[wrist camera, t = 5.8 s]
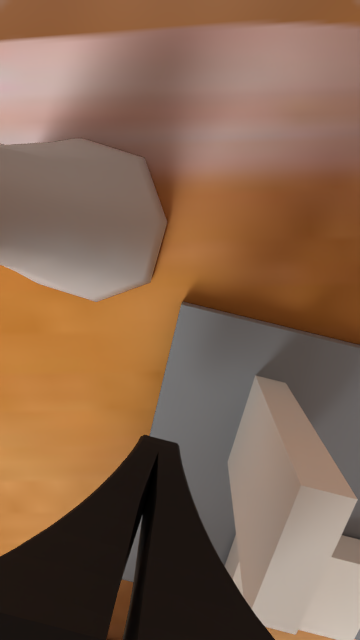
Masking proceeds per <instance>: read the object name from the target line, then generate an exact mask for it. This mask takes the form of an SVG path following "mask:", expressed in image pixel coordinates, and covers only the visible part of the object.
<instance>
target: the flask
mask: <svg viewBox="0 0 360 640" xmlns="http://www.w3.org/2000/svg"><path fill="white" fill-rule="evenodd" d="M166 225H167V220H166V217H165V214H164V211H163V208H162V206H161V203H160V200H159V197H158V194H157V192H156V189H155V186H154V183H153V180H152V177H151V175H150V172H149V169H148V166H147V163H146V160H145V158H144V157H141V156H137V155H134V154H131V153H128V152H125V151H121V150H118V149H115V148H112V147H109V146H106V145H102V144H99V143H96V142H93V141H90V140H87V139H83V138H74V139H67V140H61V141H55V142H48V143H30V144H13V145H4V144H0V265H3V266H5V267H7V268H9V269H12V270H14V271H16V272H18V273H20V274H21V275H23V276H25V277H27V278H29V279H30V280H32V281H34V282H36V283H39V284H41V285H44V286H47V287H50V288H54V289H57V290H60V291H63V292H66V293H70V294H73V295H76V296H79V297H82V298H86V299H89V300H92V301H95V302H98V301H100V300H103V299H106V298H109V297H111V296H114V295H117V294H120V293H123V292H125V291H128V290H131V289H134V288H136V287H139V286H142V285H145V284H147V283H150V282H151V279H152V275H153V272H154V268H155V264H156V261H157V257H158V254H159V250H160V247H161V243H162V239H163V236H164V232H165V229H166Z"/></svg>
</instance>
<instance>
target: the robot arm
mask: <svg viewBox="0 0 360 640" xmlns="http://www.w3.org/2000/svg"><path fill="white" fill-rule="evenodd" d="M141 517H142V522H141V529H140V536H139V544H138V551H137V559H136V567H135V574H134V582H133V589H132V595H131V601H130V606H129V611H128V616H127V621H126V626H125V630H124V635H123V640H275V639H274V638H273V637H272V635H271V634H270V633H269V631H268V630H267V629H266V628H265V626H264V625H263V624H262V622H261V621H260V620H259V618H258V617H257V616H256V615H255V613H254V612H253V610H252V609H251V607H250V606H249V604H248V603H247V602H246V600H245V599H244V597H243V596H242V594H241V593H240V591H239V589H238V588H237V586H236V584H235V583H234V581H233V579H232V578H231V576H230V574H229V573H228V571H227V569H226V568H225V566H224V564H223V563H222V561H221V559H220V557H219V556H218V554H217V552H216V550H215V548H214V546H213V544H212V542H211V540H210V538H209V536H208V534H207V532H206V530H205V528H204V525H203V523H202V521H201V518H200V516H199V514H198V511H197V508H196V506H195V503H194V501H193V498H192V495H191V492H190V489H189V486H188V483H187V479H186V476H185V472H184V469H183V465H182V460H181V455H180V448H179V445H178V443H175V442H171V441H167V440H163V439H159V438H155V437H151V436H147V435H143V436H141V437H140V439H139V441H138V443H137V444H136V446H135V447H134V449H133V450H132V451H131V453H130V454H129V455H128V457H127V458H126V459H125V460H124V461H123V462H122V464H121V465H120V466H119V467H118V468H117V469H116V470H115V472H114V473H113V474H112V475H111V476H110V477H109V478H108V479H107V480H106V481H105V482H104V483H103V484H102V485H101V486H100V487H99V488H98V489H96V490H95V491H94V492H93V493H92V494H91V495H90V496H89V497H88V498H86V499H85V500H84V501H83V502H82V503H80V504H79V505H78V506H77V507H75V508H74V509H73V510H72V511H70V512H69V513H68V514H66V515H65V516H64V517H62V518H61V519H60V520H58V521H57V522H55V523H54V524H53V525H51V526H50V527H48V528H47V529H45V530H44V531H42V532H40V533H39V534H37V535H36V536H34V537H33V538H31V539H29V540H28V541H26V542H25V543H23V544H22V545H20V546H18V547H17V548H15V549H13V550H11V551H10V552H8V553H6V554H4V555H2V556H0V640H106V638H107V634H108V630H109V625H110V621H111V617H112V613H113V609H114V605H115V601H116V597H117V593H118V589H119V586H120V583H121V579H122V576H123V573H124V570H125V567H126V564H127V561H128V558H129V555H130V552H131V549H132V545H133V542H134V539H135V536H136V533H137V530H138V527H139V524H140V521H141Z"/></svg>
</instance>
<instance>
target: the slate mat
mask: <svg viewBox="0 0 360 640" xmlns="http://www.w3.org/2000/svg"><path fill="white" fill-rule="evenodd" d="M255 375H256V376H260V377H264V378H268V379H272V380H276V381H280V382H284V383H286V384H287V386H288V387H289V389H290V391H291V392H292V394H293V395H294V397H295V399H296V400H297V402H298V403H299V405H300V407H301V408H302V410H303V412H304V413H305V415H306V416H307V418H308V420H309V421H310V423H311V425H312V426H313V428H314V429H315V431H316V433H317V434H318V436H319V438H320V439H321V441H322V442H323V444H324V446H325V447H326V449H327V451H328V452H329V454H330V455H331V457H332V459H333V460H334V462H335V463H336V465H337V467H338V468H339V470H340V472H341V473H342V475H343V476H344V478H345V480H346V481H347V483H348V485H349V486H350V488H351V489H352V491H353V493H354V494H355V496H356V498H357V499H358V500H357V502H356V504H355V507H354V509H353V511H352V513H351V515H350V518H349V520H348V522H347V524H346V526H345V528H344V531H343V533H342V535H343V536H347V537H351V538H355V539H359V540H360V345H358V344H354V343H350V342H346V341H341V340H337V339H333V338H329V337H325V336H321V335H317V334H313V333H309V332H305V331H301V330H297V329H293V328H288V327H284V326H280V325H276V324H272V323H268V322H264V321H260V320H256V319H252V318H248V317H244V316H240V315H235V314H231V313H227V312H223V311H219V310H215V309H211V308H207V307H203V306H199V305H195V304H191V303H187V302H182V304H181V308H180V312H179V316H178V320H177V324H176V328H175V332H174V337H173V341H172V345H171V349H170V353H169V357H168V361H167V366H166V370H165V374H164V378H163V382H162V386H161V391H160V395H159V399H158V403H157V407H156V411H155V415H154V420H153V424H152V428H151V432H150V436H151V437H155V438H159V439H163V440H167V441H171V442H175V443H178V445H179V448H180V455H181V460H182V465H183V469H184V472H185V476H186V479H187V483H188V486H189V489H190V492H191V495H192V498H193V501H194V503H195V506H196V508H197V511H198V514H199V516H200V518H201V521H202V523H203V525H204V528H205V530H206V532H207V534H208V536H209V538H210V540H211V542H212V544H213V546H214V548H215V550H216V552H217V554H218V556H219V557H220V559H221V561H222V563H223V564H224V566H225V564H226V561H227V558H228V555H229V552H230V549H231V547H232V544H233V541H234V538H235V535H236V529H235V521H234V512H233V504H232V495H231V487H230V479H229V470H228V459H229V456H230V453H231V450H232V447H233V444H234V440H235V437H236V434H237V431H238V428H239V425H240V422H241V419H242V415H243V412H244V409H245V406H246V403H247V400H248V397H249V394H250V390H251V387H252V384H253V381H254V378H255ZM141 522H142V517H141V521H140V524H139V527H138V530H137V533H136V536H135V539H134V542H133V545H132V549H131V552H130V555H129V558H128V561H127V564H126V567H125V570H124V573H123V576H122V579H123V580H127V581H131V582H134V574H135V567H136V559H137V551H138V544H139V536H140V529H141ZM355 639H356V640H360V629H359V631H358V633H357V635H356V637H355Z"/></svg>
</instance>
